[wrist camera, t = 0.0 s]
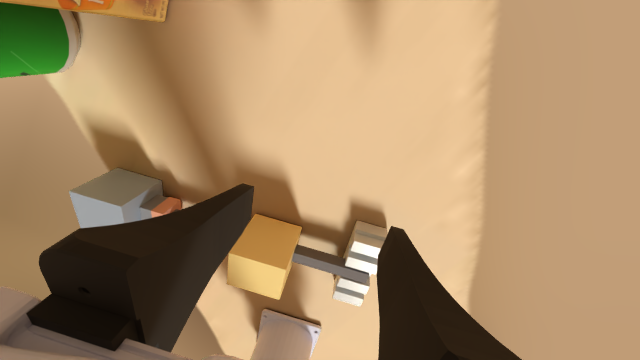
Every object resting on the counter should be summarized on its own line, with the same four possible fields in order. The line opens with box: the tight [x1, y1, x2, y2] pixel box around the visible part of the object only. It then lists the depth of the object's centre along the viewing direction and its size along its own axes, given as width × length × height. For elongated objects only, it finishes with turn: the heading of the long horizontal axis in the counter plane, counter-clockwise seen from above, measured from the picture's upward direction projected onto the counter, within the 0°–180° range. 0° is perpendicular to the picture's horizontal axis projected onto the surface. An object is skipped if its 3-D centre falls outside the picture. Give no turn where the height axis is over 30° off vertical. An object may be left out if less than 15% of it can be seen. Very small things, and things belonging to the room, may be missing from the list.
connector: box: [69, 168, 167, 228], centre depth 26 cm, size 5×7×5 cm
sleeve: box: [227, 214, 302, 300], centre depth 25 cm, size 4×5×6 cm
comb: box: [332, 220, 387, 306], centre depth 26 cm, size 9×3×3 cm, turn 167°
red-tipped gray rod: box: [151, 197, 369, 283], centre depth 26 cm, size 23×3×3 cm, turn 77°
